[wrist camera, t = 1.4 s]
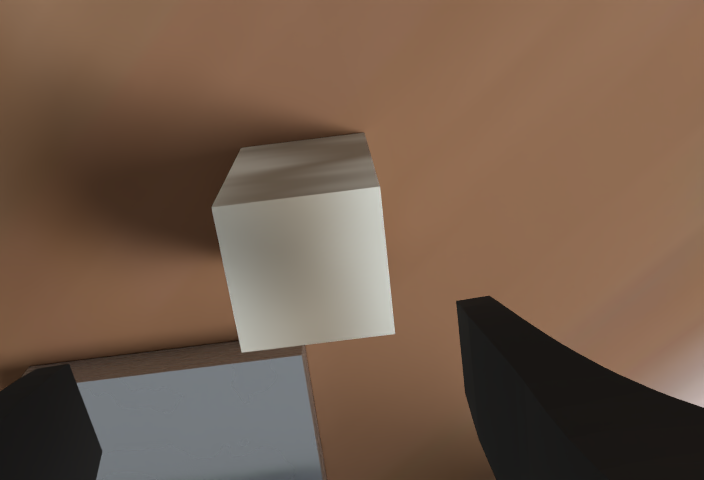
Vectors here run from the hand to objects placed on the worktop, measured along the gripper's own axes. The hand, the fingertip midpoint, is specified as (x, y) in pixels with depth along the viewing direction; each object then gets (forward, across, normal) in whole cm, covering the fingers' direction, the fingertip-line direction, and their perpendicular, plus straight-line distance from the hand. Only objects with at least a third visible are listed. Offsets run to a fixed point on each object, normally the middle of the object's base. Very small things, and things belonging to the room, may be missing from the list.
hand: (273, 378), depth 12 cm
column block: (+10, -1, 0) cm, 10 cm away
